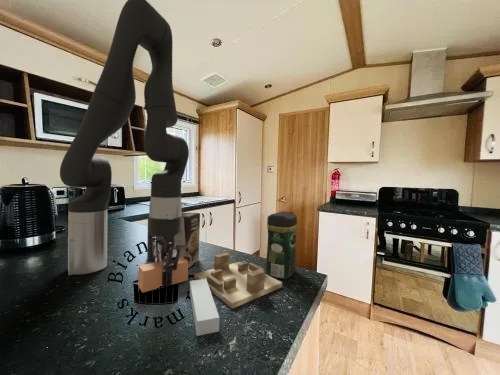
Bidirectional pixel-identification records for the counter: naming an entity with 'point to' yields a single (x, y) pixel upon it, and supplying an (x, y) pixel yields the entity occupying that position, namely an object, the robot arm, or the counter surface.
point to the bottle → (149, 245)
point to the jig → (237, 281)
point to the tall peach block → (160, 274)
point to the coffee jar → (281, 245)
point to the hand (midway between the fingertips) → (163, 281)
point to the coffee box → (189, 237)
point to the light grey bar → (203, 308)
